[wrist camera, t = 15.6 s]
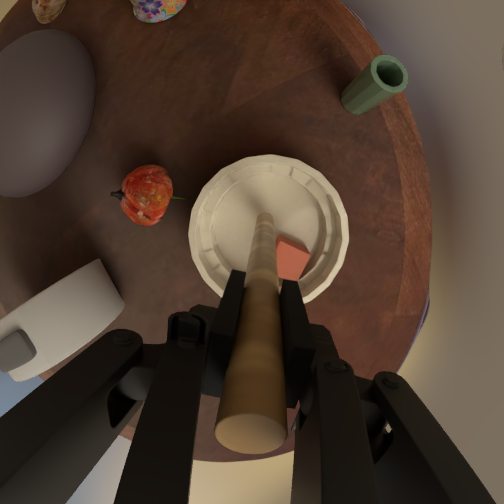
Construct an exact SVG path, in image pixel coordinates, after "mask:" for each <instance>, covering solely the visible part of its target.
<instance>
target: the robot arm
mask: <svg viewBox="0 0 504 504" xmlns="http://www.w3.org/2000/svg"><path fill="white" fill-rule="evenodd" d="M245 277H246V272H244V271H239V270H234V269H232V271H231V273H230V276H229V279H228V282H227V284H226V287H225V290H224V293H223V296H222V298H221V301H220V304H219V307H218V308H214V307H209V306H205V305H200V304H198V305H196V306H194V307H192V308H191V309H190V311H189V312H185V311H183V312H176V313H174V314H171V316H170V317H169V318H168V332H167V341H166V343H164V344H143V340H142V337H141V336H140V335H139V334H138V333H136V332H134V331H131V330H127V329H116V330H112V331H110V332H108V333H106V334H105V335H103V336H102V337H101V338H100V339H98V340H97V341H96V342H94V343H93V344H92V345H90V346H89V347H88V348H87V349H85V350H84V351H83V352H81V353H80V354H79V355H78V356H76V357H75V358H74V359H73V360H71V361H70V362H69V363H67V364H66V365H65V366H64V367H62V368H61V369H60V370H59V371H57V372H56V373H55V374H54V375H52V376H51V377H50V378H48V379H47V380H46V381H45V382H43V383H42V384H41V385H40V386H39V387H37V388H36V389H35V390H34V391H32V392H31V393H30V394H29V395H27V396H26V397H25V398H24V399H22V400H21V401H20V402H19V403H17V404H16V405H15V406H14V407H13V408H11V409H10V410H9V411H8V412H6V414H4V415H3V416H2V417H0V504H65V503H66V502H67V501H68V500H69V498H70V497H71V496H72V494H73V493H74V492H75V491H76V489H77V488H78V487H79V485H80V484H81V483H82V482H83V480H84V479H85V478H86V477H87V475H88V474H89V473H90V471H91V470H92V469H93V467H94V466H95V465H96V464H97V462H98V461H99V460H100V458H101V457H102V456H103V455H104V453H105V452H106V451H107V449H108V448H109V447H110V446H111V444H112V443H113V442H114V440H115V439H116V438H117V436H118V435H119V434H120V433H121V431H122V430H123V429H124V427H125V426H126V425H127V424H128V422H129V421H130V420H131V418H132V417H133V416H134V414H135V413H136V412H137V411H138V409H139V408H140V407H141V405H142V404H143V401H145V403H144V406H143V409H142V412H141V415H140V418H139V421H138V424H137V427H136V430H135V433H134V436H133V440H132V443H131V446H130V449H129V453H128V456H127V459H126V463H125V466H124V469H123V472H122V476H121V479H120V483H119V486H118V490H117V493H116V497H115V500H114V504H189V494H190V484H191V473H192V464H193V456H194V447H195V438H196V430H197V421H198V413H199V405H200V397H201V391H202V394H205V395H209V396H214V397H219V398H221V393H222V388H223V383H224V378H225V373H226V370H227V368H228V364H229V359H230V354H231V349H232V344H233V339H234V334H235V329H236V323H237V318H238V313H239V308H240V303H241V298H242V293H243V288H244V283H245ZM280 308H281V322H282V337H283V353H284V370H285V387H286V407H287V408H294V409H295V407H296V405H297V402H298V400H299V401H300V408H299V411H298V413H297V416H296V418H295V420H294V423H293V425H292V428H291V431H294V429H295V427H296V430H295V448H294V464H293V478H292V491H291V503H290V504H496V503H495V501H494V500H493V498H492V497H491V495H490V494H489V492H488V491H487V489H486V488H485V487H484V485H483V484H482V482H481V481H480V479H479V478H478V477H477V475H476V474H475V472H474V471H473V469H472V468H471V467H470V465H469V464H468V462H467V461H466V460H465V458H464V457H463V455H462V454H461V453H460V451H459V450H458V449H457V447H456V446H455V444H454V443H453V442H452V440H451V439H450V438H449V436H448V435H447V434H446V432H445V431H444V430H443V428H442V427H441V426H440V424H439V423H438V422H437V420H436V419H435V418H434V416H433V415H432V414H431V413H430V411H429V410H428V409H427V407H426V406H425V405H424V403H423V402H422V401H421V400H420V398H419V397H418V396H417V394H416V393H415V392H414V391H413V389H412V388H411V387H410V385H409V384H408V383H407V382H406V381H405V380H404V379H403V378H402V377H401V376H399V375H397V374H396V373H393V372H386V371H383V372H378V373H377V374H376V375H375V376H374V379H373V381H372V380H369V379H365V378H361V377H358V376H355V375H354V372H353V369H352V367H351V365H350V364H348V363H347V362H346V361H344V360H342V359H340V358H339V355H338V352H337V350H336V347H335V345H334V342H333V339H332V336H331V334H330V331H329V330H328V329H326V328H325V327H324V326H323V325H317V324H310V323H309V320H308V317H307V313H306V309H305V306H304V302H303V299H302V295H301V292H300V288H299V285H298V281H294V280H288V279H283V282H282V287H281V291H280ZM387 424H389V425H390V427H391V429H392V430H391V431H390V433H388V432H387V431H386V429H385V427H386V426H387Z"/></svg>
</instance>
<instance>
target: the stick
mask: <svg viewBox="0 0 504 504" xmlns="http://www.w3.org/2000/svg"><path fill="white" fill-rule="evenodd" d="M214 433H215V436H216V438H217V439H218V441H219V442H220V443H221V444H222V445H224V446H225V447H227V448H229V449H231V450H233V451H236V452H240V453H246V454H261V453H266V452H270V451H273V450H275V449H277V448H278V447H280V446H281V445H282V444H283V443H284V442H285V440H286V438H287V435H288V428H287V407H286V387H285V370H284V353H283V337H282V322H281V308H280V294H279V281H278V268H277V255H276V243H275V231H274V220H273V217H272V215H271V214H270V213H268V212H262V213H260V214H259V215H258V217H257V220H256V225H255V230H254V235H253V240H252V245H251V250H250V254H249V259H248V264H247V269H246V277H245V283H244V288H243V293H242V298H241V303H240V308H239V313H238V318H237V323H236V329H235V334H234V339H233V344H232V349H231V354H230V359H229V364H228V368H227V370H226V373H225V378H224V383H223V388H222V393H221V398H220V403H219V408H218V413H217V418H216V423H215V428H214Z"/></svg>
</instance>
